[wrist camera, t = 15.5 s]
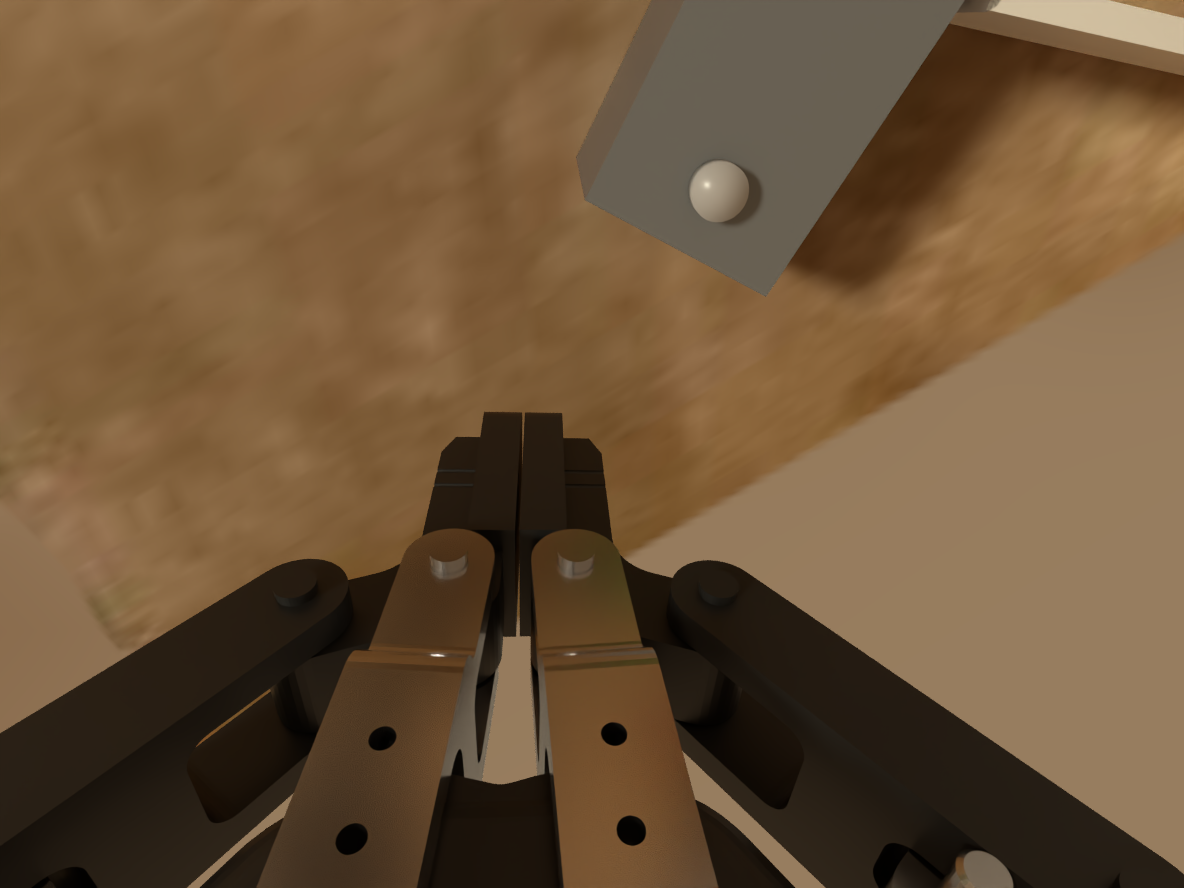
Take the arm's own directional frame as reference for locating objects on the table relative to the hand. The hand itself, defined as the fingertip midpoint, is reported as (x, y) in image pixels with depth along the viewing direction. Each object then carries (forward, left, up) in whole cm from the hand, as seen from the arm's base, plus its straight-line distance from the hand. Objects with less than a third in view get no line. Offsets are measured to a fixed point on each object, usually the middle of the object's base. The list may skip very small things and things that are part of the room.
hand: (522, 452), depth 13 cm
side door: (-17, +17, -23) cm, 33 cm away
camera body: (-10, +5, -23) cm, 25 cm away
